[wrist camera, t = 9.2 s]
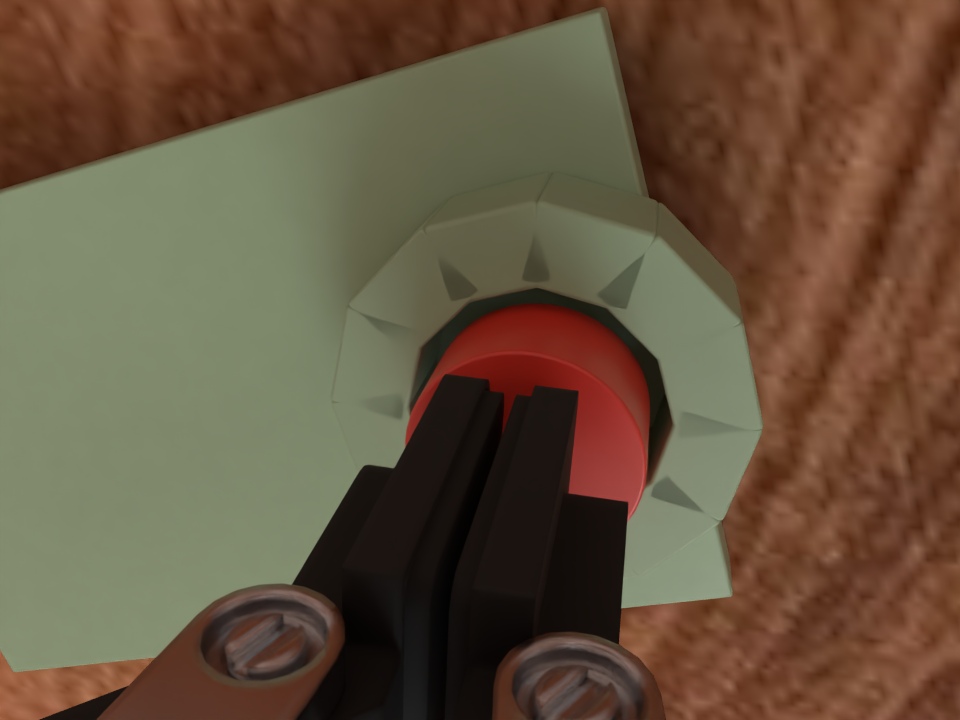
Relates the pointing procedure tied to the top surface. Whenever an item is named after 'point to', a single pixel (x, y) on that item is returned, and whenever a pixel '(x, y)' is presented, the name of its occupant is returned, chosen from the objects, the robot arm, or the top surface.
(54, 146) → the top surface
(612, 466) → the button
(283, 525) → the button box
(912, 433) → the top surface
